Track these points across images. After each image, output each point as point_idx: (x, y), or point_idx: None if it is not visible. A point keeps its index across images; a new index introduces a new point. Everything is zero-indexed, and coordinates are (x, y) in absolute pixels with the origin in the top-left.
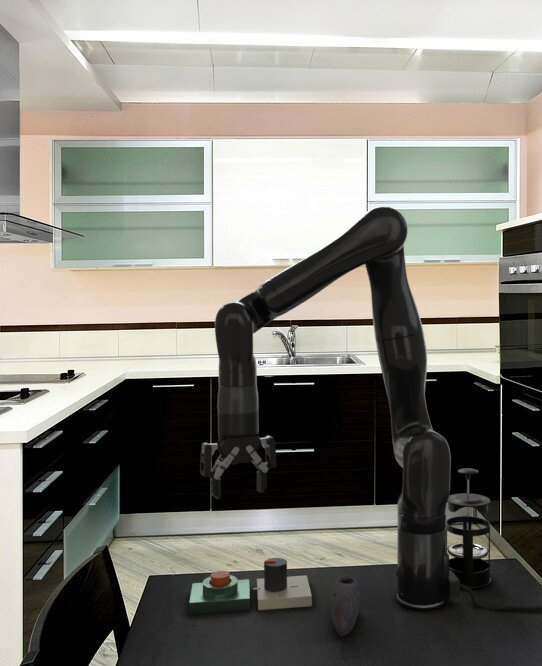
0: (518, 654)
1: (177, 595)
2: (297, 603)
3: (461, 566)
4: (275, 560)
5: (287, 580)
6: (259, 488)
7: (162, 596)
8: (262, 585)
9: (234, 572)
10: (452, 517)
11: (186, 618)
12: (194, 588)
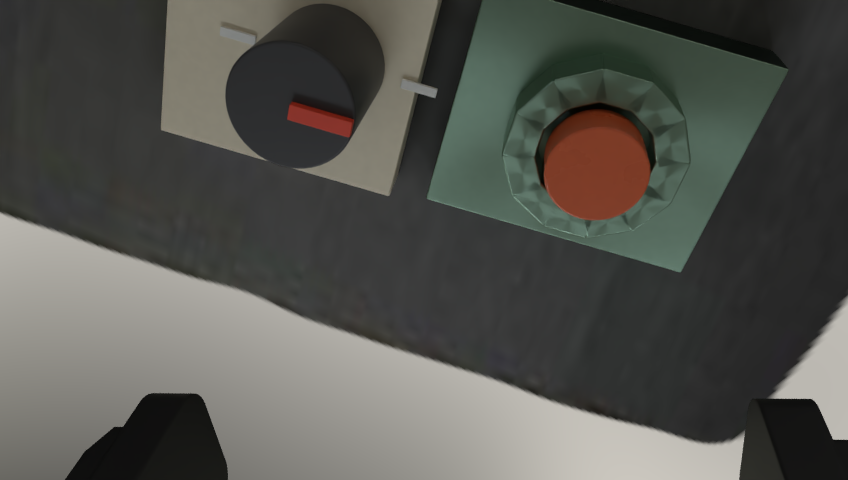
0: None
1: (736, 263)
2: None
3: None
4: (285, 128)
5: None
6: (191, 454)
7: (798, 282)
8: (383, 113)
9: (443, 356)
10: None
11: (801, 17)
12: (696, 216)
